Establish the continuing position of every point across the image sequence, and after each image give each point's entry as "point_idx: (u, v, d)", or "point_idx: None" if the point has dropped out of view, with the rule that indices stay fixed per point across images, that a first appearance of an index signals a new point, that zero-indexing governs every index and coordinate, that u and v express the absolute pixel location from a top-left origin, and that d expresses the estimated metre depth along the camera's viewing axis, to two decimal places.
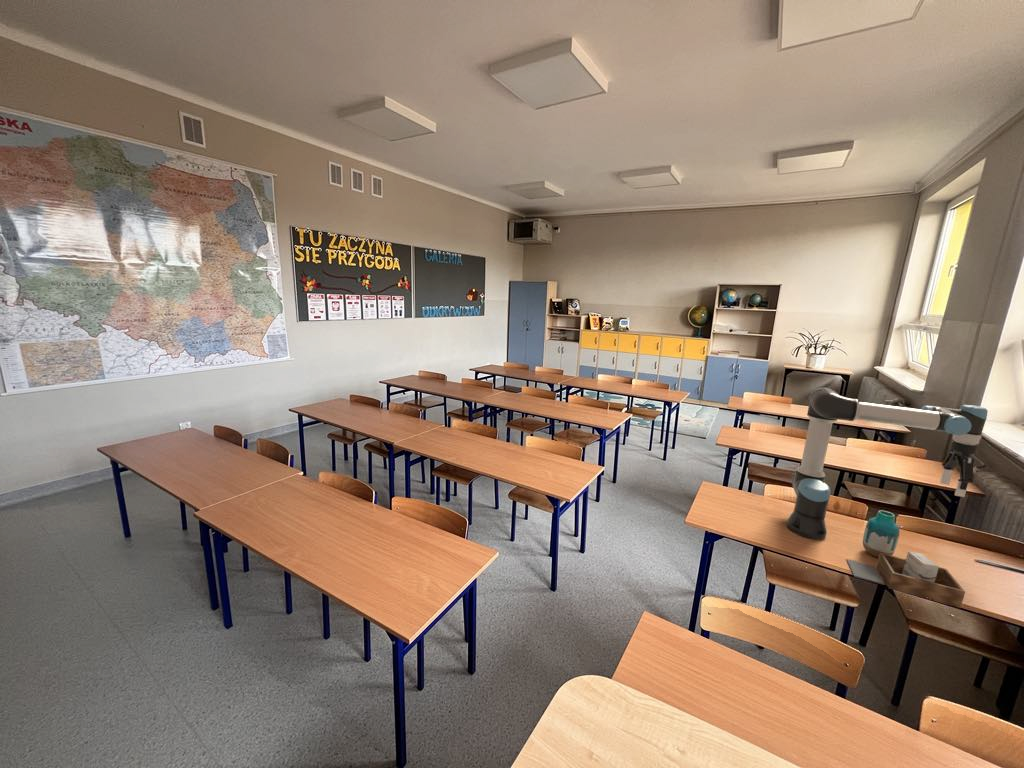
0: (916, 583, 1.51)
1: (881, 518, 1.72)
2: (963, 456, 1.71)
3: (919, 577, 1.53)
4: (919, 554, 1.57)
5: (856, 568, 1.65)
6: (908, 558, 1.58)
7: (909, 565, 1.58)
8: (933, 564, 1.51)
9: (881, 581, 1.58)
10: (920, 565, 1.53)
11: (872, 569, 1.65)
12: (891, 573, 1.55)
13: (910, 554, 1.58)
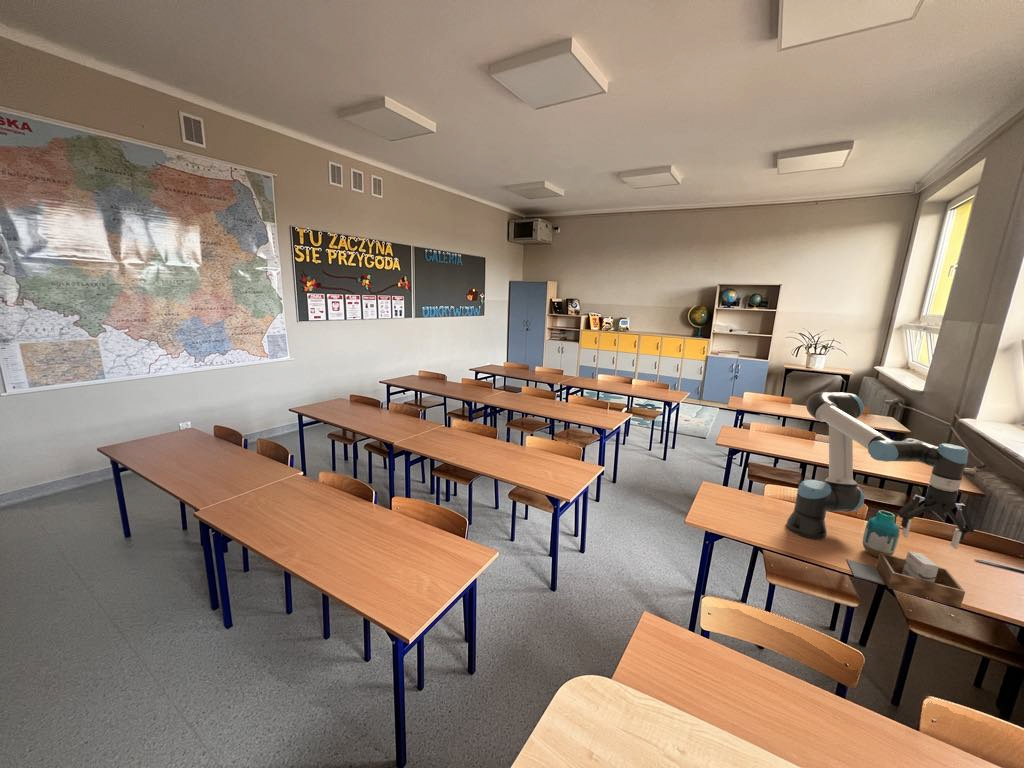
0: (916, 583, 1.51)
1: (881, 518, 1.72)
2: None
3: (919, 577, 1.53)
4: (919, 554, 1.57)
5: (856, 568, 1.65)
6: (908, 558, 1.58)
7: (909, 565, 1.58)
8: (933, 564, 1.51)
9: (881, 581, 1.58)
10: (919, 565, 1.53)
11: (872, 569, 1.65)
12: (891, 573, 1.55)
13: (910, 554, 1.58)
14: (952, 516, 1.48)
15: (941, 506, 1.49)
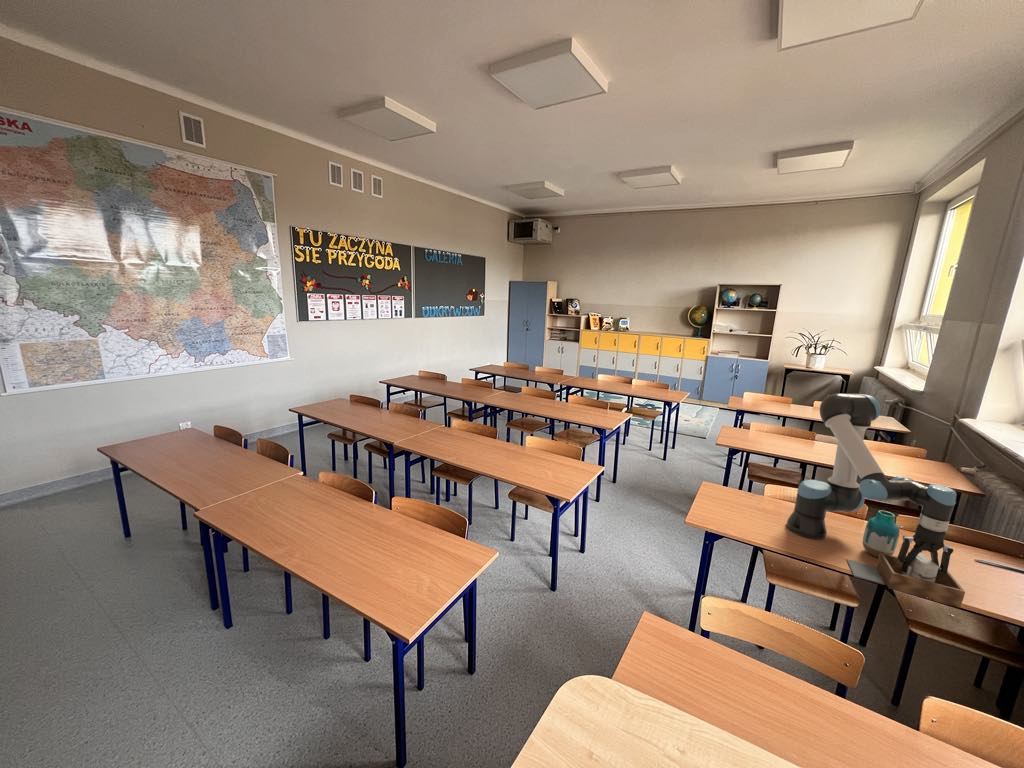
0: (916, 583, 1.51)
1: (881, 518, 1.72)
2: None
3: (919, 577, 1.53)
4: (919, 554, 1.57)
5: (856, 568, 1.65)
6: None
7: None
8: (933, 564, 1.51)
9: (881, 581, 1.58)
10: (920, 565, 1.53)
11: (872, 569, 1.65)
12: (891, 573, 1.55)
13: None
14: (934, 556, 1.52)
15: (930, 544, 1.52)
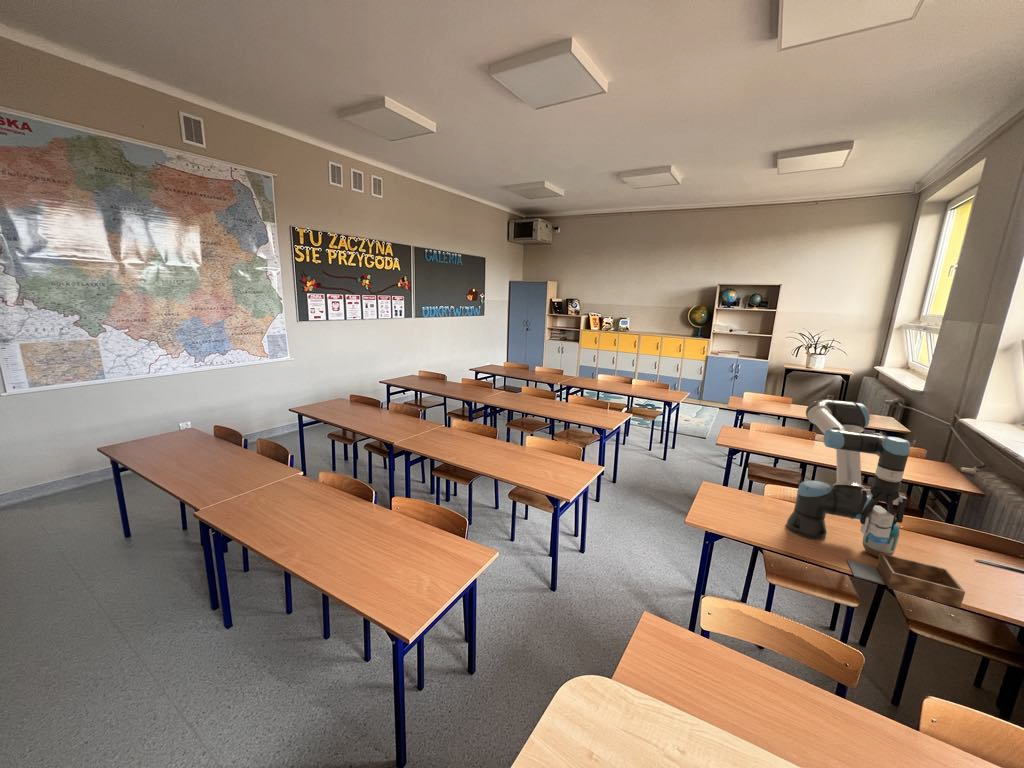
0: (916, 583, 1.51)
1: None
2: None
3: (875, 527, 1.57)
4: (877, 506, 1.61)
5: (856, 568, 1.65)
6: None
7: None
8: (889, 514, 1.55)
9: (881, 581, 1.58)
10: (876, 515, 1.57)
11: (872, 569, 1.65)
12: (891, 573, 1.55)
13: None
14: (890, 506, 1.56)
15: (886, 495, 1.56)
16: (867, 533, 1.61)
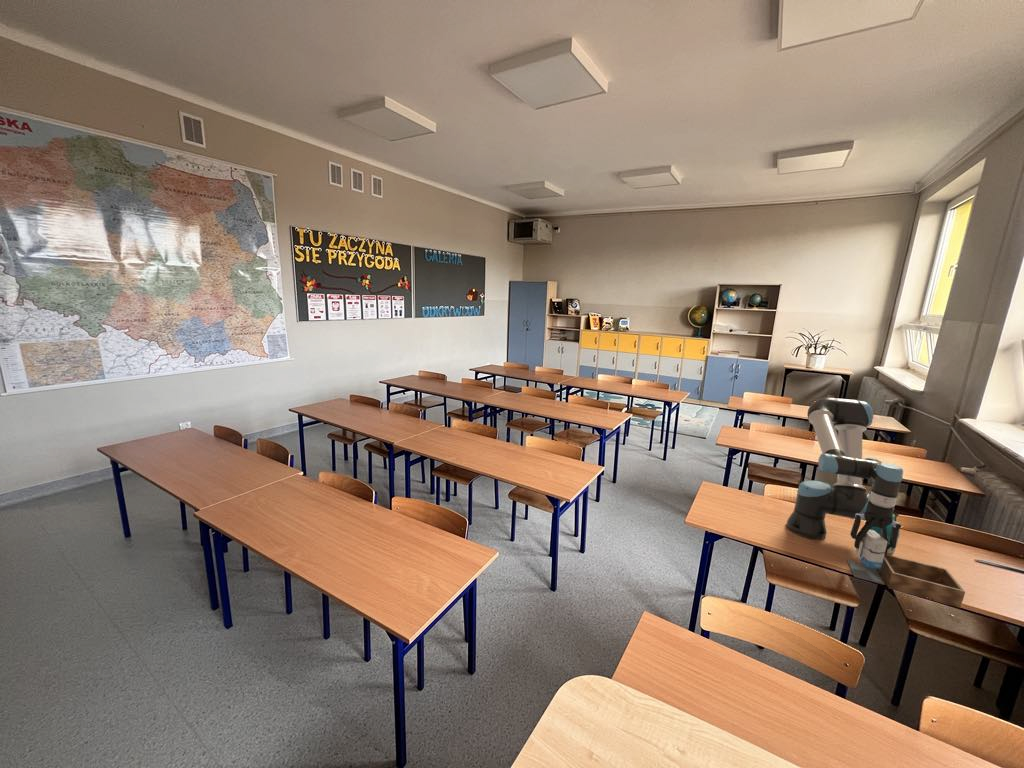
0: (916, 583, 1.51)
1: None
2: None
3: (869, 552, 1.59)
4: (871, 531, 1.63)
5: (856, 568, 1.65)
6: None
7: None
8: (882, 539, 1.57)
9: (881, 581, 1.58)
10: (870, 540, 1.59)
11: (872, 569, 1.65)
12: (891, 573, 1.55)
13: None
14: (884, 531, 1.58)
15: (879, 520, 1.58)
16: (861, 557, 1.63)
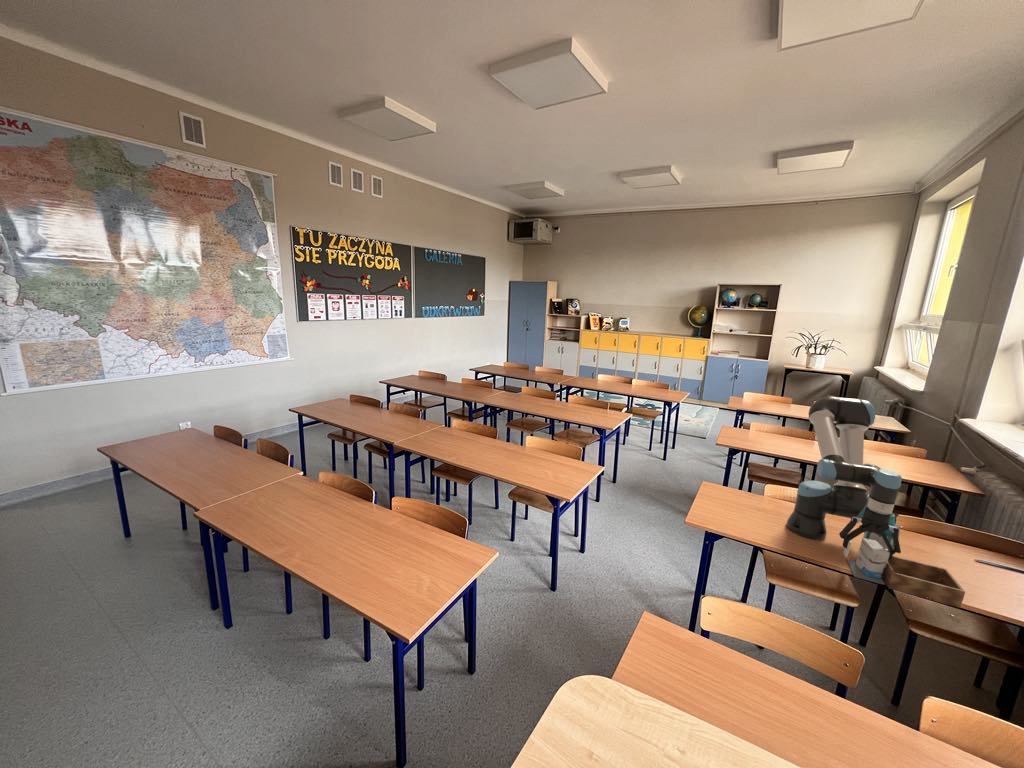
0: (916, 583, 1.51)
1: None
2: None
3: (869, 562, 1.60)
4: (872, 541, 1.64)
5: (856, 568, 1.65)
6: (862, 545, 1.65)
7: (862, 551, 1.64)
8: (883, 550, 1.58)
9: (881, 581, 1.58)
10: (870, 550, 1.60)
11: None
12: (891, 573, 1.55)
13: (863, 540, 1.65)
14: (884, 537, 1.58)
15: (876, 527, 1.59)
16: (862, 567, 1.64)
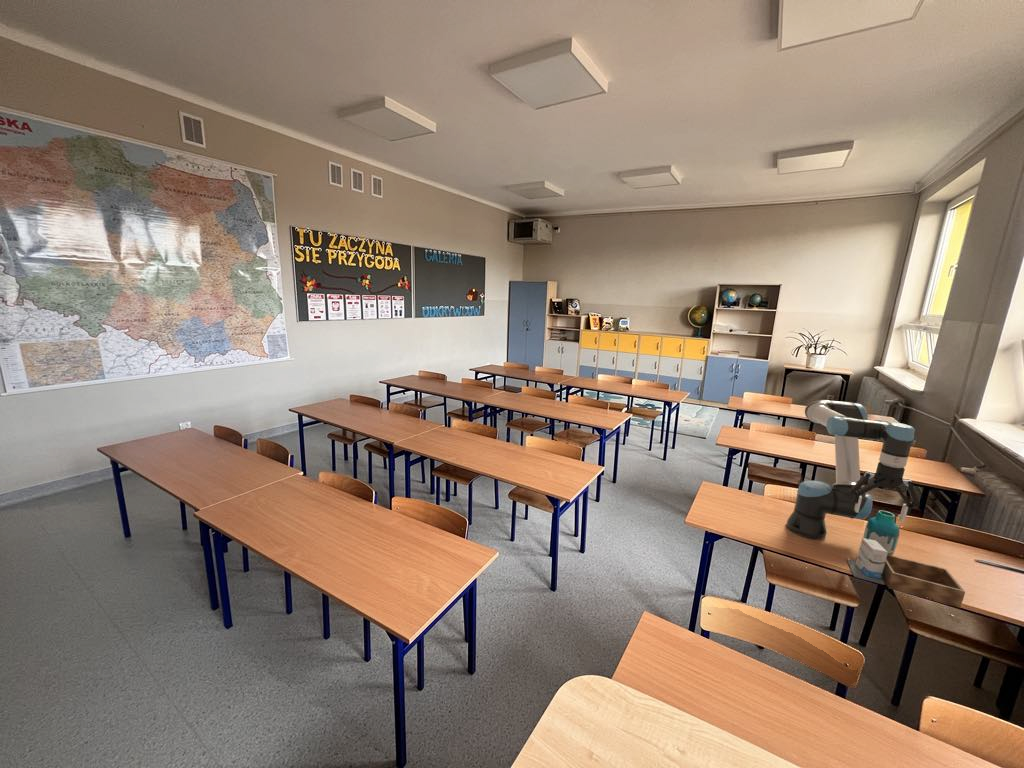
0: (916, 583, 1.51)
1: (881, 518, 1.72)
2: None
3: (869, 562, 1.60)
4: (872, 541, 1.64)
5: (856, 568, 1.65)
6: (862, 545, 1.65)
7: (862, 551, 1.64)
8: (882, 550, 1.58)
9: (881, 581, 1.58)
10: (870, 550, 1.60)
11: None
12: (891, 573, 1.55)
13: (863, 540, 1.65)
14: (899, 492, 1.55)
15: (889, 482, 1.56)
16: (862, 567, 1.64)
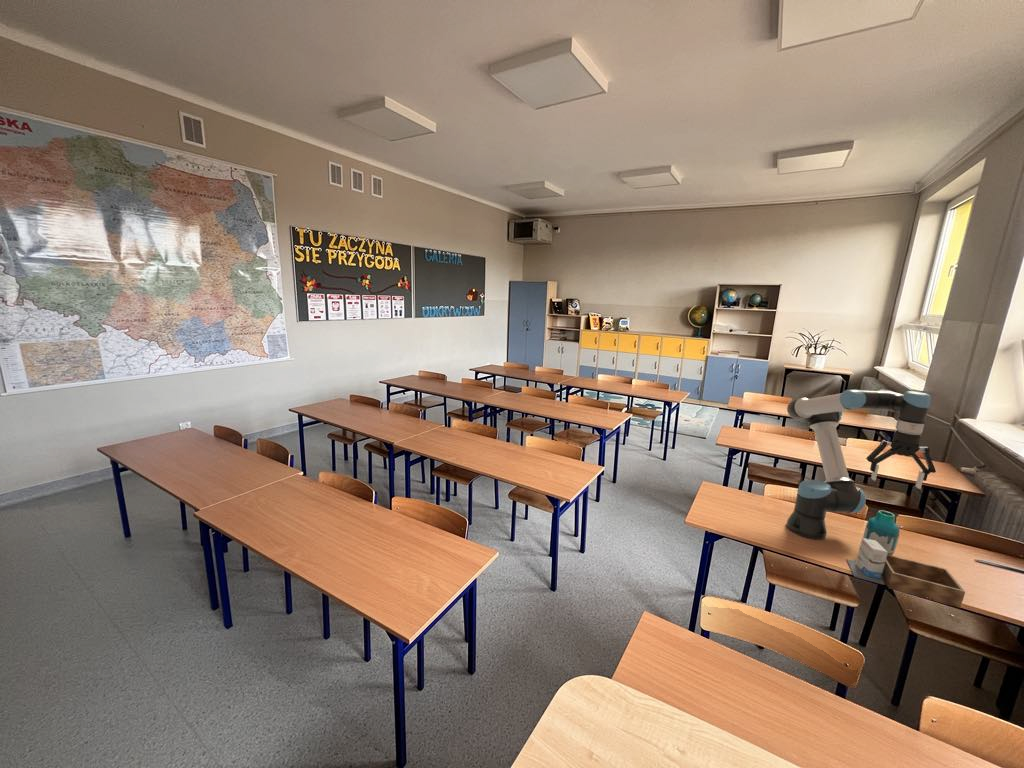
0: (916, 583, 1.51)
1: (881, 518, 1.72)
2: None
3: (869, 562, 1.60)
4: (872, 541, 1.64)
5: (856, 568, 1.65)
6: (862, 545, 1.65)
7: (862, 551, 1.64)
8: (882, 550, 1.58)
9: (881, 581, 1.58)
10: (870, 550, 1.60)
11: None
12: (891, 573, 1.55)
13: (863, 540, 1.65)
14: (916, 458, 1.59)
15: (906, 449, 1.60)
16: (862, 567, 1.64)
